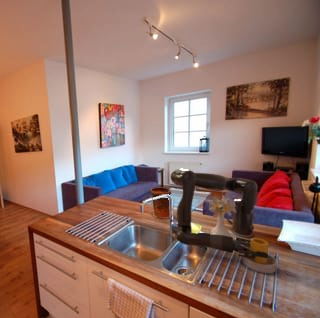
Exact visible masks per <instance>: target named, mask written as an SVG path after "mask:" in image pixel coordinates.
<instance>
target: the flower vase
mask: <svg viewBox="0 0 320 318" xmlns="http://www.w3.org/2000/svg"><path fill="white" fill-rule="evenodd" d="M221 196H222V198H221V200H220V199H219V198H218V196H213V197H212V199H211V200H210V201H209V202H208V207H209V208H208V209H209V212H210V213H213V215H212V217H213V218H214V219H215V218H217V220H216V225H215V227H213V228H211V230H210V233H211V234H219V235H225V236H230V237H232V236H231V233H230V232H229V230H228V229H227V228H226V226H225V218H226V217H224V216H225V215H226V214H227V215H228V216H232V212H233V214H234V213H235V212H236V209H235V208H234V207H235V205H236V204H235V203H234V200H235V199H232V198H231V197H227V198H226V196H225V195H224V194H222V195H221Z"/></svg>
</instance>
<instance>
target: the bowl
mask: <svg viewBox="0 0 320 318" xmlns="http://www.w3.org/2000/svg"><path fill="white" fill-rule="evenodd" d="M249 256H250V255H249ZM241 262H242V263H243V264H244V266H246V267H247V268H248V269H251V270H253V271H254V272H257V273H258V272H259V273H262V274H273V273H275V272H276V271H277V268H278V261H277V259H276V258H275V257H274V256H273V255H271V254H269V253H268V258H267V265H264V264H259V263H256V262H253V261H251V260H249V258H247V257H241Z"/></svg>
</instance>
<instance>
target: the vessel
mask: <svg viewBox="0 0 320 318" xmlns="http://www.w3.org/2000/svg"><path fill="white" fill-rule="evenodd" d="M150 194H151V196H152V198H153V197H156V196H159V195H162V194H169V195H170V196H171V195H172V190H171V189H169V188H167V187H160V186H159V187H153V188H151V189H150ZM169 207H170V203H169V200H168V198H160V199H157V200H153V199H152V208H153V209H152V210H153V211H152V216H153V217H155V218H160V219H169V218H171V217H170V215H171V214H170V209H169Z"/></svg>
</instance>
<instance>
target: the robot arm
mask: <svg viewBox="0 0 320 318" xmlns="http://www.w3.org/2000/svg"><path fill="white" fill-rule="evenodd" d="M170 181H171V182H172V183H173V184H174V185H176V186H179V187H182V196H181V199H180V201H179V202H178V205H177V207H176V222H177V231H176V235H175V237H176V240H177V241H178V242H179V243H180V244H182V245H186V246H201V247H204V248H209V249H213V250H215V251H216V250H217V251H220V252H225V253H230V254H233V253H234V252H236V253H238V256H239V257H241V258H242V257H247V258H253V259H255V257H256V256H258V257H263V258H268V254H269V253H268V254H267V253H265V252H260V251H255V250H252V249H251V248H250V242H251V239H247V238H253V236H254V230H255V229H254V228H255V226H254V217H255V204H256V202H257V195H258V183H257V182H256V181H254V180H251V179H246V178H242V177H226V176H224V175H221V174H216V173H207V172H194V171H193V170H189V169H184V168H177V169H174V170H173V171H172V172H171V174H170ZM196 187H197V188H200V189H204V190H208V191H214V192H223V191H230V192H233V193H235V194H239V195H242V198H236V199H233V200H234V203H235V204H236V205H235V207H234V208H235V209H236V212H235V213H234V212H233V215H232V221H231V220H230V219H229V217H228V216H227V215H224V218H226V220H227V222H229V223H230V224H231V226H232V228H231V229H232V233H233V234H235V235H237V236H236V237H235V239H234V237H232V236H231V237H230V236H225V235H219V234H211V232H206V231H198V232H192V231H193V229H192V228H193V227H192V208H193V207H192V206H193V200H194V195H195V191H196ZM234 203H233V204H234ZM238 236H240V237H238ZM243 237H245V238H243ZM250 251H252V252H250ZM249 255H251V256H249Z"/></svg>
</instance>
